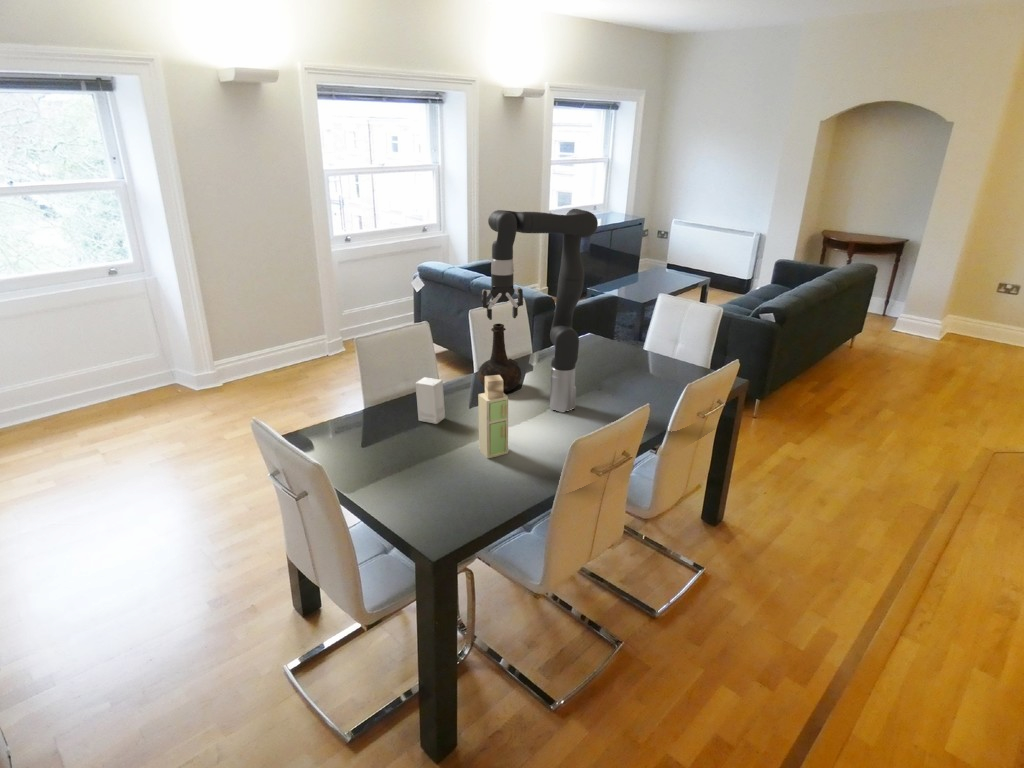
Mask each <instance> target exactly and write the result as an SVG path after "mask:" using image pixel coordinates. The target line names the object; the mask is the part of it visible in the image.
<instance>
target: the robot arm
mask: <svg viewBox="0 0 1024 768" xmlns="http://www.w3.org/2000/svg"><path fill="white" fill-rule="evenodd" d="M598 221H599V220H598V219H597V217H596V215H595V214H594V213H592V212H590V211H588V210H585V209H584V210H583V209H580V208H572V209H570V210H569V211H568V212H567V213H566V214H555V213H549V212H542V211H541V212H540V211H515V210H514V211H512V210H504V209H503V210H502V209H498V210H495V211H493V212H491V213H490V214H489V216H488V226H489V228H490V229H491V230H492V231H494V232H496V233H497V236H496V237H497V238H496V240H495V241H493V243H492V244H491V265H490V267H491V268H490V273H491V276H490V277H491V278H490V279H491V280H490V281H491V282H490V284H491V286H490V289H485V288H482V290H481V300H480V301H481V302H480V303H481V304H480V305H481V306H482V308H483V309H486V317H487V318H488V320H491V321H492V319H493V309H492V308H493V307H494V305H496V304H497V303H502V302H504V303H507V302H508V301H509V302H510V304H512V318H513V319H516V318H517V317H518V314H519V311H518V309H519V307H521V306H522V307H523V305H524V292H523V288H521V287H517V288H514V272H515V270H514V244H515V241H516V235H517V233H521V234H562V250H561V259H560V269H559V275H558V279H557V280H558V281H557V282H558V283H557V292H556V299H555V308H554V309H555V310H554V313H553V320H552V324H551V327H550V331H549V332H550V333H549V338H550V339H549V340H550V342H551V343H552V344H553V346H554V347H555V348H554V357H553V358H552V359H551V362H550V389H549V390H550V391H549V392H550V393H549V409H550V408H551V409H553V410H557V411H567V410H570V409H572V408H575V409H576V397H577V386H576V385H575V383H576V382H575V381H576V364H577V361H578V357H579V348H580V339H579V338H580V337H579V335H578V334H579V333H578V332H577V331H576V330H575V329H573V318H574V313H575V309H576V307H577V305H578V302H579V301H580V298H581V297H582V293H583V289H584V284H585V267H584V263H583V260H582V255H581V242H582V239H585V238H589V237H591V236H593V235H594V234H595V233H596V232H597V229H598V225H599V222H598ZM514 294H516V296H517V301H515V300H514V298H513V295H514ZM489 295H491V298H490V299H489V301H488V302H487V297H489ZM551 409H550V410H551ZM553 410H552V411H553Z"/></svg>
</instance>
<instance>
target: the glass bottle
mask: <svg viewBox="0 0 1024 768" xmlns="http://www.w3.org/2000/svg"><path fill="white" fill-rule="evenodd" d="M490 330H491V332H492V346H491V347H492V349H491V356H490V359H488V360H485V362H483V363H482V364H481V365H480V367H479V368H478V372H477V375H478V376H477V377H478V380H479V383H480V384H481V386H483V388H485V376H492V375H500V376H501V378H502V379H503V393H507V392H510V391H512V390H514V389H515V388H516V387H517V386H518V385H519V384H520V382H521V380H522V370H521V368H520V366H519V363H518V362H517V361H515V360H514V359H512V358H508V354H507V350H506V344H505V331H506V330H507V328H505V325H504V323H493V325H492V328H491V329H490Z"/></svg>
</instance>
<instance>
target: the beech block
mask: <svg viewBox="0 0 1024 768" xmlns="http://www.w3.org/2000/svg"><path fill="white" fill-rule="evenodd" d="M484 393H485V395H486V396H487V398H488V399H495V398H503V393H504V392H503V379H502V378H501V376H500V375H492V376H485V387H484Z"/></svg>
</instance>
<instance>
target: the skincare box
mask: <svg viewBox="0 0 1024 768" xmlns="http://www.w3.org/2000/svg"><path fill="white" fill-rule="evenodd" d="M443 384H444V383H443V379H439V378H431V377H426V376H424V377H422V378H421V379H419V380H417V381H416V382H415V393H416V403H417V404H416V405H417V406H416V407H417V416H418V421H419V422H424V423H430V424H433V425H437V424H439V423H441V422H442V421H443V420H444V419H445V418H446V413H445V397H444V385H443Z"/></svg>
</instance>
